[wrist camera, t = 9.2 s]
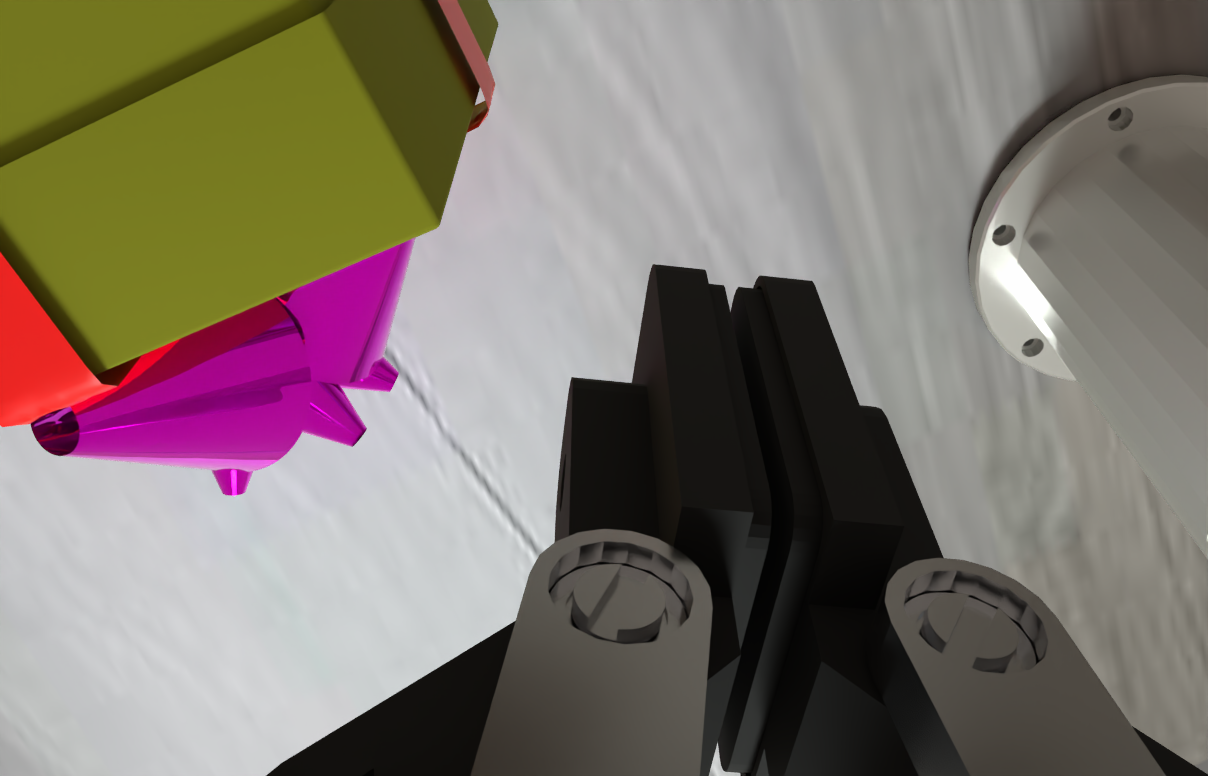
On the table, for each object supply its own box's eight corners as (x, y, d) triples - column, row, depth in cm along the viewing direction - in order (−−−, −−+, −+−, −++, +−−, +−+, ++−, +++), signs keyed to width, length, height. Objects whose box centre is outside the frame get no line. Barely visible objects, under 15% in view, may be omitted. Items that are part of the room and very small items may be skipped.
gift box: (-262, -336, 33) (207, 333, 45) (-1391, -310, 16) (-160, 758, 28) (283, -751, 26) (671, 172, 38) (-705, -1488, 9) (559, 609, 21)
